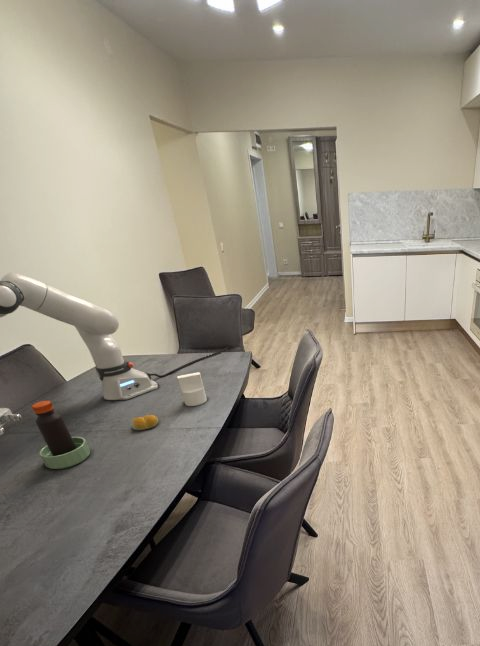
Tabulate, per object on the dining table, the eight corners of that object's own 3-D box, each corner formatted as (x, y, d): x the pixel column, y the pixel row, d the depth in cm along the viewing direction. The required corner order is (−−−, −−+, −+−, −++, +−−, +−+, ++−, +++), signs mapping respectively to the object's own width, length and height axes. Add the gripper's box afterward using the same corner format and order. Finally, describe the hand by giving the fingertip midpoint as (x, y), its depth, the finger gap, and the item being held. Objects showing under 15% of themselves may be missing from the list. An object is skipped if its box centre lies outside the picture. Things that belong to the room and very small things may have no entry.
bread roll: (160, 426, 149) (157, 416, 147) (135, 433, 145) (131, 423, 143) (157, 418, 155) (154, 409, 153) (132, 424, 151) (128, 415, 149)
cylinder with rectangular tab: (205, 395, 173) (199, 369, 167) (208, 402, 166) (201, 376, 160) (184, 399, 170) (176, 373, 164) (185, 407, 162) (177, 380, 156)
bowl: (86, 444, 139) (80, 432, 136) (95, 458, 131) (89, 445, 128) (43, 459, 131) (36, 447, 129) (50, 475, 123) (43, 461, 121)
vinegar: (60, 454, 133) (34, 401, 123) (82, 450, 134) (57, 398, 124) (52, 465, 127) (23, 410, 117) (75, 461, 128) (48, 407, 118)
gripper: (-69, 437, 110) (-14, 430, 112) (-23, 407, 128) (24, 401, 130) (-56, 456, 113) (-3, 449, 116) (-13, 423, 131) (32, 418, 133)
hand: (11, 423), depth 123 cm, fingers open, 8 cm apart
